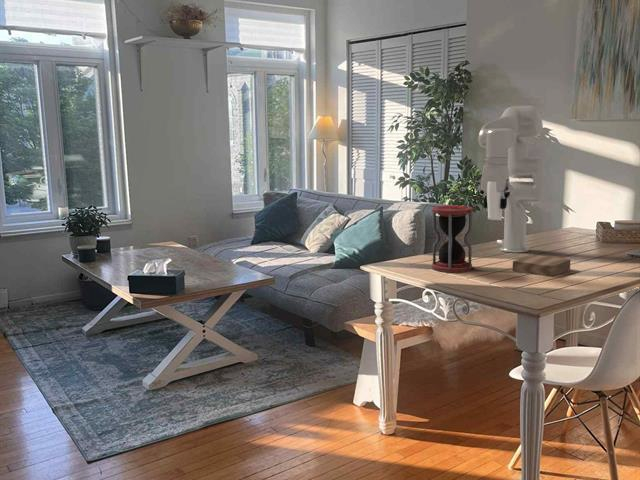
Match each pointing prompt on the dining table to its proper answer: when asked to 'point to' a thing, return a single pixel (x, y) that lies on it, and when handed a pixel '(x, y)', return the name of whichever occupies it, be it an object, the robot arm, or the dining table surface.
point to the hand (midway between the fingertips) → (495, 207)
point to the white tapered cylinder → (493, 202)
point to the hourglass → (452, 238)
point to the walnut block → (541, 265)
